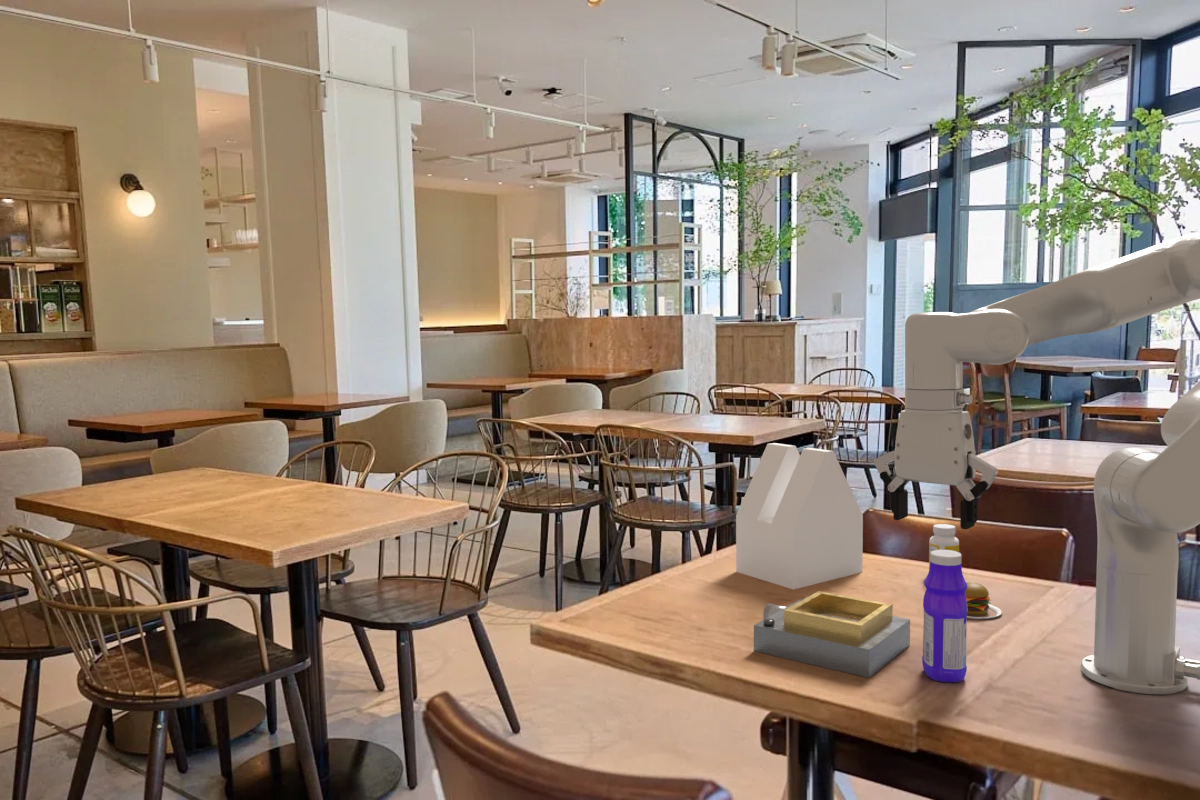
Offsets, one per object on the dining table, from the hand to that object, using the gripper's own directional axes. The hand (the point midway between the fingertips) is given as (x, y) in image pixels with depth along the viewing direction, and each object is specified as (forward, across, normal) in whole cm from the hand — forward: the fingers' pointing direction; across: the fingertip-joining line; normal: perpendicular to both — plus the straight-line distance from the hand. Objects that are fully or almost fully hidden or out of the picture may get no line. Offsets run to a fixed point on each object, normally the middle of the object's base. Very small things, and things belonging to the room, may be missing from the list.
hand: (933, 522), depth 129 cm
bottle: (+21, -2, +1) cm, 21 cm away
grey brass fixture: (+21, +17, +2) cm, 27 cm away
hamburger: (+22, +6, -29) cm, 37 cm away
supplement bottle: (+21, +19, -47) cm, 55 cm away
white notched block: (+21, +41, -32) cm, 56 cm away
